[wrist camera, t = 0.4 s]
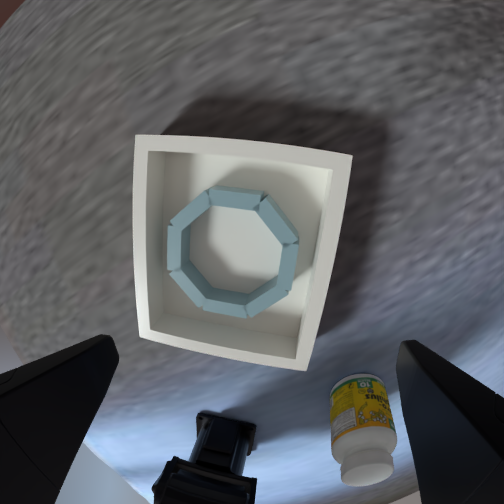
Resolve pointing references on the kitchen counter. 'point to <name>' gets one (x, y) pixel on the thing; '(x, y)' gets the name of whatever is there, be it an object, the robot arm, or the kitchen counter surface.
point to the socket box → (235, 244)
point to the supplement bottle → (362, 430)
